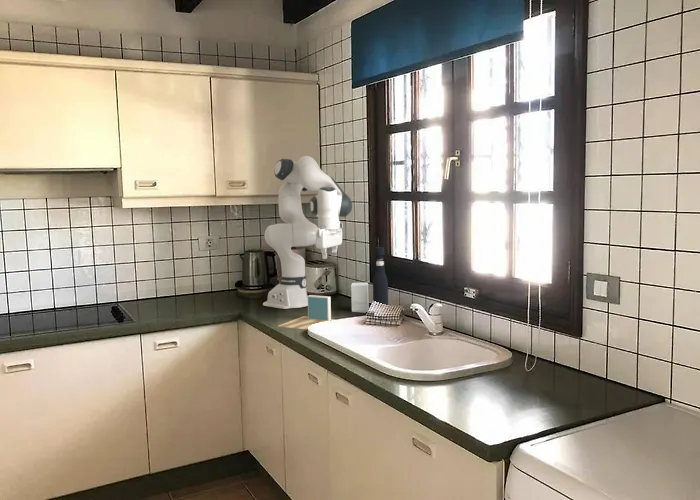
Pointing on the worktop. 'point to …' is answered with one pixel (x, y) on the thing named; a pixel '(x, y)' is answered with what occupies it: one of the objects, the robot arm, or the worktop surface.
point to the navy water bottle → (380, 279)
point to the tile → (319, 308)
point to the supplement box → (359, 297)
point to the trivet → (301, 323)
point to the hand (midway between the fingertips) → (329, 257)
